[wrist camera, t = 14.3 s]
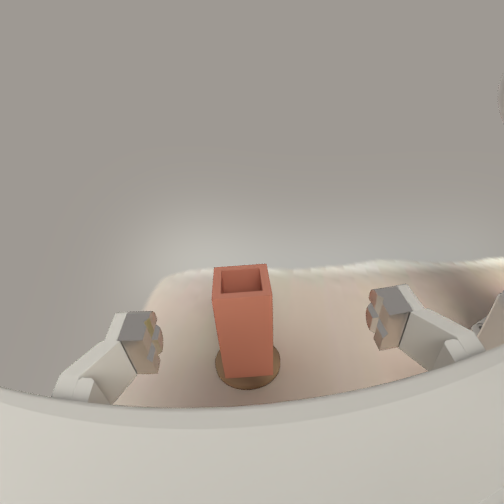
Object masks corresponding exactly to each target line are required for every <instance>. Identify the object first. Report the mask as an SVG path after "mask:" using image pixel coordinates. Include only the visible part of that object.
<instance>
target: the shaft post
mask: <svg viewBox="0 0 504 504" xmlns="http://www.w3.org/2000/svg"><path fill="white" fill-rule="evenodd" d="M215 364H216V369H217V373H218V375H219V377H220V378H221V380H222V381H223V382H225V383H226V384H227V385H229V386H231V387H234V388H237V389H243V390H251V389H257V388H260V387H263V386H265V385H267V384H268V383H270V382H271V381H272V380H273V379H274V378H275V377H276V375H277V374H278V372H279V368H280V356H279V353H278V351H277V349H276V348H275V347H274V346H273V375H268V376H256V377H242V378H225V373H224V368H223V363H222V357H221V352H220V350H219V352H218V353H217V356H216V360H215Z"/></svg>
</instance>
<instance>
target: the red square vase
mask: <svg viewBox="0 0 504 504" xmlns="http://www.w3.org/2000/svg"><path fill="white" fill-rule="evenodd" d="M212 305H213V311H214V317H215V323H216V329H217V335H218V340H219V346H220V352H221V357H222V363H223V368H224V373H225V378H242V377H256V376H268V375H273V306H272V291H271V285H270V280H269V275H268V270H267V265H266V264H256V265H242V266H228V267H214V276H213V289H212Z"/></svg>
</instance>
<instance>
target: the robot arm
mask: <svg viewBox="0 0 504 504" xmlns="http://www.w3.org/2000/svg"><path fill="white" fill-rule="evenodd" d="M498 106H499V111H500V115H501V118H502V121H503V124H504V73H503V75H502V77H501V80H500V83H499V87H498ZM369 300H370V301H371V303H370V304H369V306H368V307H367V310H366V321H367V325H368V328H369V330H370V331H372V332H373V333H375V335H374V340H375V342H376V345H377V347H378V349H379V351H380V350H386V349H391V348H396V347H399V349H401V350H402V351H403V352H404V353H406V354H407V355H408V356H410V357H411V358H412V359H413V360H415V361H416V362H417V363H419V364H420V365H421V366H422V367H424V368H425V369H426V370H428V372H425V373H421V374H418V375H415V376H411V377H407V378H404V379H400V380H396V381H392V382H388V383H384V384H380V385H376V386H372V387H367V388H363V389H358V390H353V391H348V392H343V393H338V394H332V395H326V396H320V397H314V398H307V399H300V400H293V401H285V402H276V403H267V404H256V405H244V406H228V407H203V408H159V407H135V406H120V405H113V403H114V402H115V401H116V400H117V399H118V397H119V396H120V395H121V394H122V393H123V392H124V390H125V389H126V388H127V387H128V386H129V384H130V383H131V382H132V381H133V380H134V379H135V377H136V376H137V374H158V370H159V365H160V358H159V356H158V355H159V354H160V353H161V352H162V349H163V335H162V331H161V328H160V327H159V326H157V325H156V322H157V317H156V315H155V312H153V311H138V312H117V313H116V314H115V315H114V318H113V320H112V323H111V325H110V327H109V330H108V332H107V335H106V338H105V340H104V341H101V342H99V343H98V344H97V345H95V346H94V347H93V348H92V349H91V350H89V351H88V352H87V353H86V354H84V355H83V356H82V357H81V358H79V359H78V360H77V361H76V362H75V363H73V364H72V365H71V366H70V367H68V368H67V369H66V370H65V371H63V372H62V373H61V374H60V376H59V379H58V381H57V383H56V386H55V388H54V391H53V393H52V396H51V397H47V396H42V395H36V394H31V393H26V392H22V391H17V390H13V389H9V388H4V387H1V386H0V504H504V291H503V292H502V293H500V294H499V295H498V296H497V297H496V299H495V302H494V304H493V306H492V308H491V310H490V312H489V314H488V315H487V316H486V317H485V318H483V319H482V320H480V321H479V322H477V323H476V324H474V325H473V326H472V327H471V329H470V330H469V329H467V328H465V327H463V326H461V325H460V324H458V323H456V322H454V321H452V320H450V319H448V318H446V317H444V316H442V315H440V314H438V313H436V312H434V311H432V310H430V309H428V308H427V309H425V308H424V307H423V305H422V304H421V302H420V301H419V300H418V298H417V297H416V296H415V294H414V293H413V291H412V290H411V289H410V287H409V286H408V285H407V284H402V285H396V286H392V287H386V288H380V289H373V290H371V292H370V295H369Z"/></svg>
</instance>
